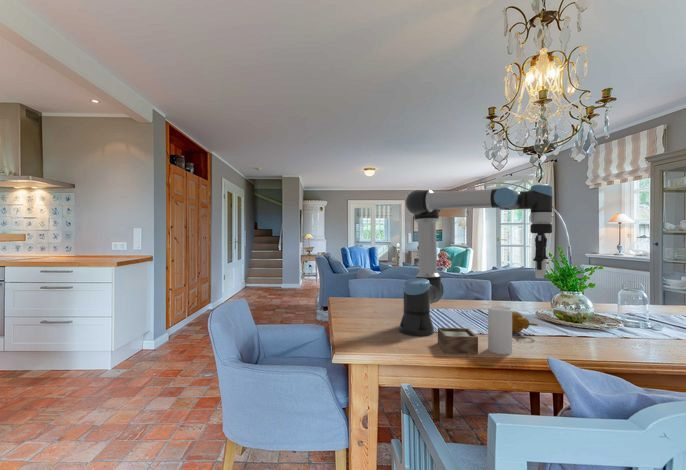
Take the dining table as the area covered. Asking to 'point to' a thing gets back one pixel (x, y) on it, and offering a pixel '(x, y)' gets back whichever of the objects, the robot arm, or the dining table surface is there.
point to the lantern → (519, 322)
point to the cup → (500, 329)
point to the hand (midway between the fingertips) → (540, 276)
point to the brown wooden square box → (457, 340)
